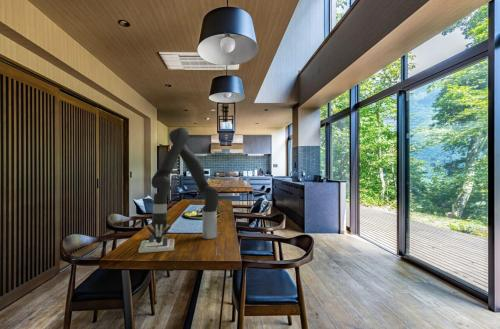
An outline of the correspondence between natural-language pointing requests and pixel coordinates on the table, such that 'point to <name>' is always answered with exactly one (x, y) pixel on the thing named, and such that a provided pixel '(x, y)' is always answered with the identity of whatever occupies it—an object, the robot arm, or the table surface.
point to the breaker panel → (156, 246)
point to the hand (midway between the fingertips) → (158, 242)
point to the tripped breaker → (165, 241)
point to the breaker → (151, 238)
